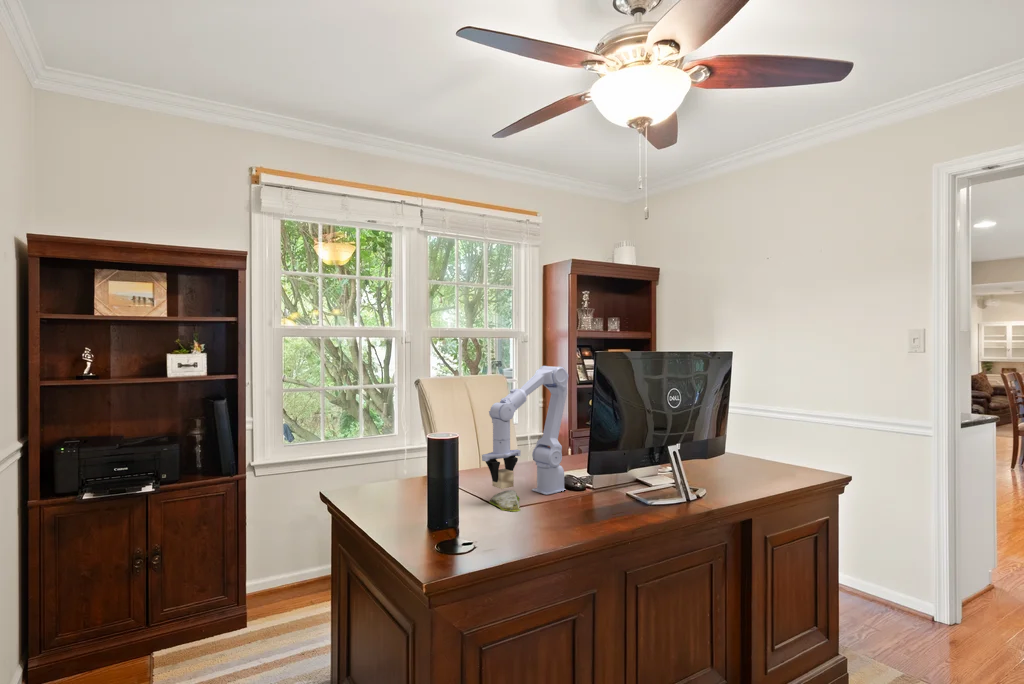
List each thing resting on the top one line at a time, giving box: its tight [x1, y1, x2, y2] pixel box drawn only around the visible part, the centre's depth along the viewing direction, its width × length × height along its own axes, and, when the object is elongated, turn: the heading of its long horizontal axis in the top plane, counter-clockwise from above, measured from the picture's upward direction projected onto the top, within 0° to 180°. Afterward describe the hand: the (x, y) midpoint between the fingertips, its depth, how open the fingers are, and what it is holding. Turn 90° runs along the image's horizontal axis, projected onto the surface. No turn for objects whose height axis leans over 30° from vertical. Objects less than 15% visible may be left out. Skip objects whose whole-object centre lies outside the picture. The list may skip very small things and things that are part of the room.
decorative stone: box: [488, 489, 521, 513], centre depth 186 cm, size 23×10×4 cm, turn 4°
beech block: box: [491, 468, 515, 490], centre depth 186 cm, size 5×5×5 cm
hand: (501, 480), depth 186 cm, fingers closed on beech block, 5 cm apart
